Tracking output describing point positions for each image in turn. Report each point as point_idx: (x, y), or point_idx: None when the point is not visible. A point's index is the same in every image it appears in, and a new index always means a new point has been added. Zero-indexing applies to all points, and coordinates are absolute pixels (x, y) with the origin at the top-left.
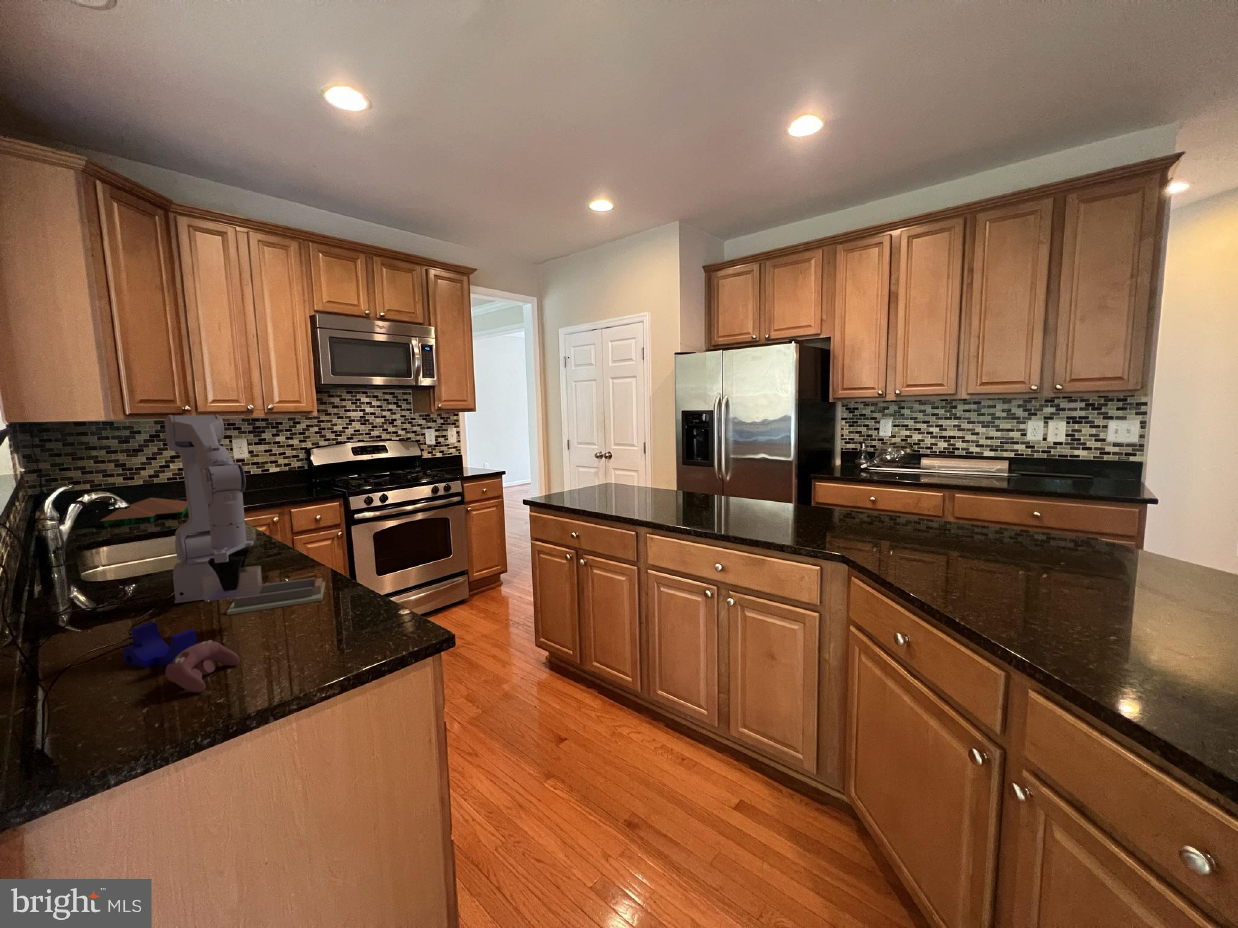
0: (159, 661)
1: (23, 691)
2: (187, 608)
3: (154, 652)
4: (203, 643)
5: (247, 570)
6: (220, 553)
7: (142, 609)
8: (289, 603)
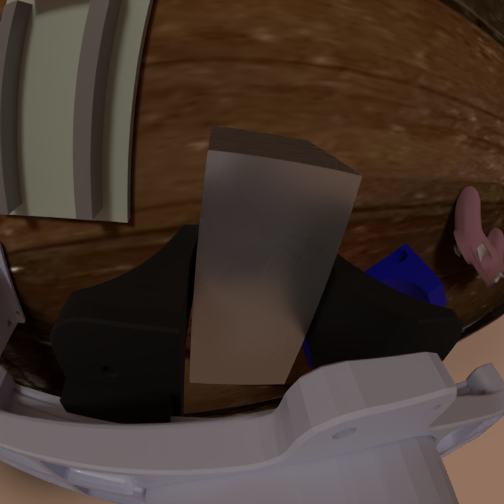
0: None
1: None
2: (51, 300)
3: None
4: (480, 257)
5: (301, 230)
6: (497, 417)
7: (45, 353)
8: (141, 46)
